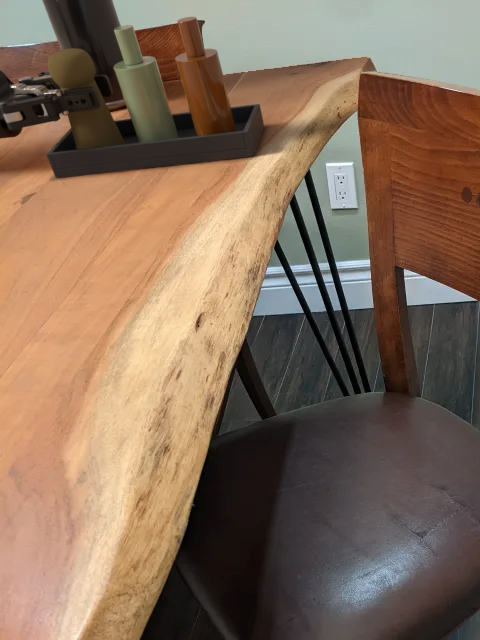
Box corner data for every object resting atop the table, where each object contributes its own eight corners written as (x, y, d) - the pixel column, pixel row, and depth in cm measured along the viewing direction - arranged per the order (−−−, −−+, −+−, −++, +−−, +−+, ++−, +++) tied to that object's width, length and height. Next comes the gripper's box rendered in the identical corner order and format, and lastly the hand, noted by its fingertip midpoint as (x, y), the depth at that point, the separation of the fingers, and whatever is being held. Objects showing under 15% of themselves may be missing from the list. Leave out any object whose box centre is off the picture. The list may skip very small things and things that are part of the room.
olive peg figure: (104, 139, 91) (68, 42, 83) (135, 144, 89) (101, 44, 81) (68, 156, 88) (28, 57, 80) (100, 162, 85) (61, 59, 77)
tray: (55, 178, 86) (45, 154, 84) (82, 147, 93) (73, 125, 91) (253, 156, 84) (247, 131, 82) (264, 127, 91) (259, 103, 89)
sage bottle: (148, 138, 90) (111, 23, 81) (184, 135, 89) (151, 19, 80) (135, 152, 86) (94, 35, 77) (172, 149, 86) (136, 31, 77)
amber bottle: (204, 131, 89) (172, 15, 80) (241, 128, 88) (213, 11, 79) (193, 146, 86) (158, 27, 77) (231, 143, 85) (201, 22, 76)
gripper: (-75, 90, 77) (71, 73, 76) (-21, 55, 87) (109, 39, 86) (-38, 160, 83) (98, 145, 81) (8, 119, 93) (131, 105, 91)
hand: (103, 91), depth 83 cm, fingers open, 4 cm apart
